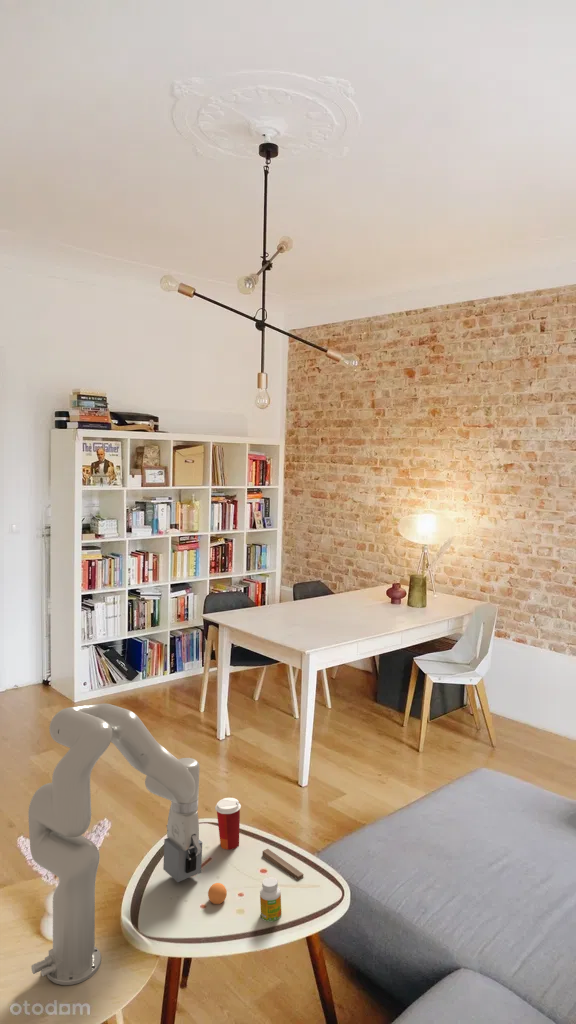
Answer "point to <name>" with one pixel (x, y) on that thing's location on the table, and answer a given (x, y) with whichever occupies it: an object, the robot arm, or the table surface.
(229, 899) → the table surface
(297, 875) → the long brown rectangular bar
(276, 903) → the supplement bottle
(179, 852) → the grey matte cube
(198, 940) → the table surface
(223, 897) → the ball
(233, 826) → the paper cup
